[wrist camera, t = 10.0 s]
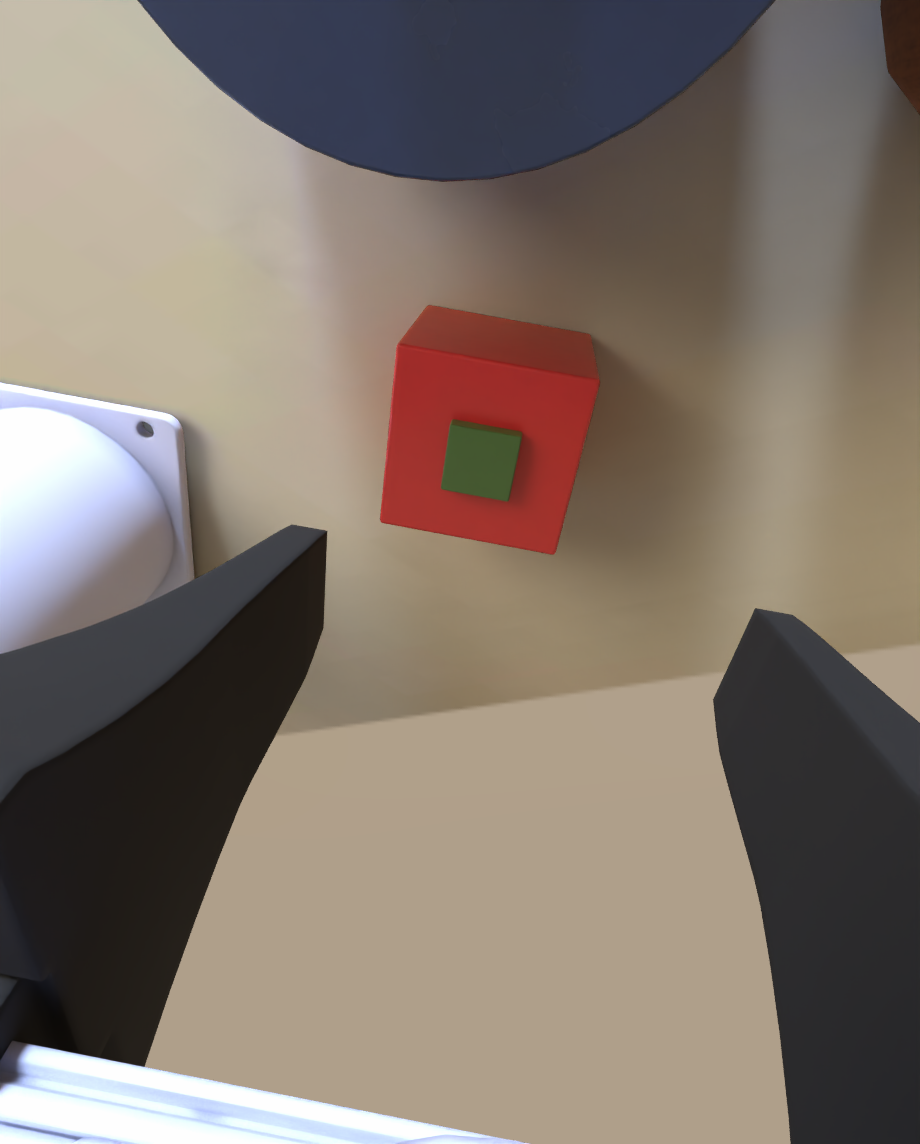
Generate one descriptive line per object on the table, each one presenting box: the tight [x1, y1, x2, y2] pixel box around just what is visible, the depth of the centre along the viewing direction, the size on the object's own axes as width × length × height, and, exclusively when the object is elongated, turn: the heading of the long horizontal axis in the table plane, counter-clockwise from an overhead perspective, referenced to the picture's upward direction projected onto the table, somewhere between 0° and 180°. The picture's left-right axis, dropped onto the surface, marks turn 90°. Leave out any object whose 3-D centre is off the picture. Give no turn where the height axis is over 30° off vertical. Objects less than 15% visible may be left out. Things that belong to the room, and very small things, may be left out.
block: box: [380, 305, 600, 554], centre depth 17 cm, size 4×4×5 cm
